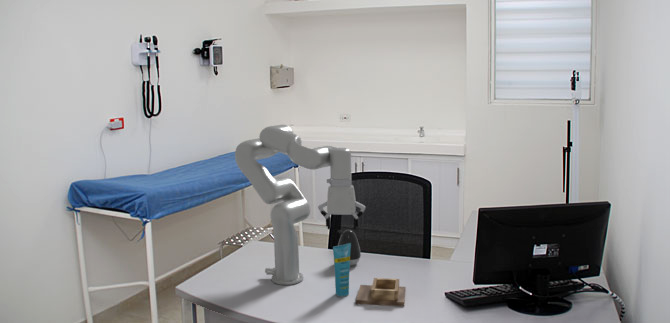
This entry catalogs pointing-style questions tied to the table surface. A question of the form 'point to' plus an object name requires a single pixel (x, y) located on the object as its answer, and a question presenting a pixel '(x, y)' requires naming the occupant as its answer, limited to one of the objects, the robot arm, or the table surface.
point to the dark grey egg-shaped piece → (350, 237)
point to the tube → (342, 268)
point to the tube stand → (382, 293)
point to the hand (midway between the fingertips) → (342, 228)
